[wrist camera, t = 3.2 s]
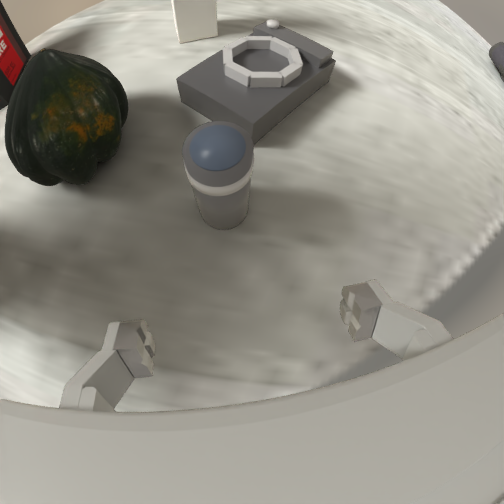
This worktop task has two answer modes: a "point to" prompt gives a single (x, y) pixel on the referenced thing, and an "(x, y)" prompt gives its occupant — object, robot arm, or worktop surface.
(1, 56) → the cleaning product box
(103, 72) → the squash
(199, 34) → the milk
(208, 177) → the lens
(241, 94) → the stand base
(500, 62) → the bluetooth speaker
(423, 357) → the robot arm
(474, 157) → the worktop surface
